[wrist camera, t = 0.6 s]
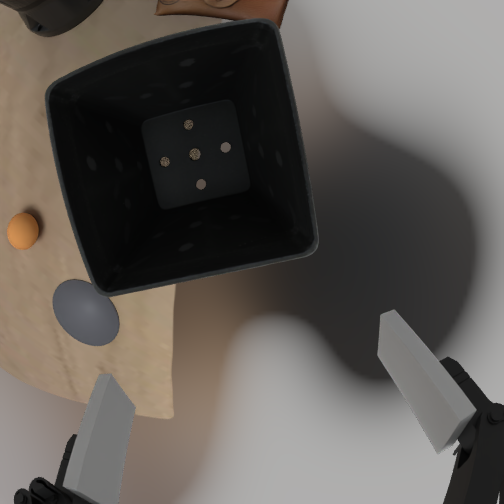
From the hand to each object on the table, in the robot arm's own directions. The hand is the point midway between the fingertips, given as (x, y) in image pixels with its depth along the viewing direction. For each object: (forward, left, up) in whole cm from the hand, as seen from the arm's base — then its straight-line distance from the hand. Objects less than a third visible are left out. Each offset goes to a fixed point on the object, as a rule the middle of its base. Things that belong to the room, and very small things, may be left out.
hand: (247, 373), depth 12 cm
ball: (-13, -29, -24) cm, 40 cm away
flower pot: (-10, -1, -28) cm, 29 cm away
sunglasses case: (-30, +11, -28) cm, 42 cm away
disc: (+4, -29, -27) cm, 40 cm away
